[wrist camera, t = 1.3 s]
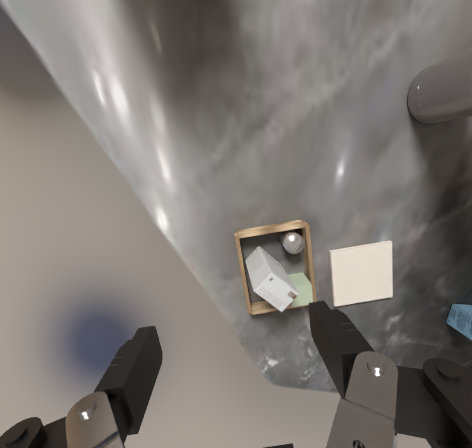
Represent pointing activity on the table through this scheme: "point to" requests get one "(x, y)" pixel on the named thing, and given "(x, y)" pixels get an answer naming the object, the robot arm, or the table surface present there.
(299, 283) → the sage block
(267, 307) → the oak corral
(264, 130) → the table surface
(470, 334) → the gum box
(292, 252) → the grey ball
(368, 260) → the ceramic pad
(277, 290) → the skincare box
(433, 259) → the table surface
